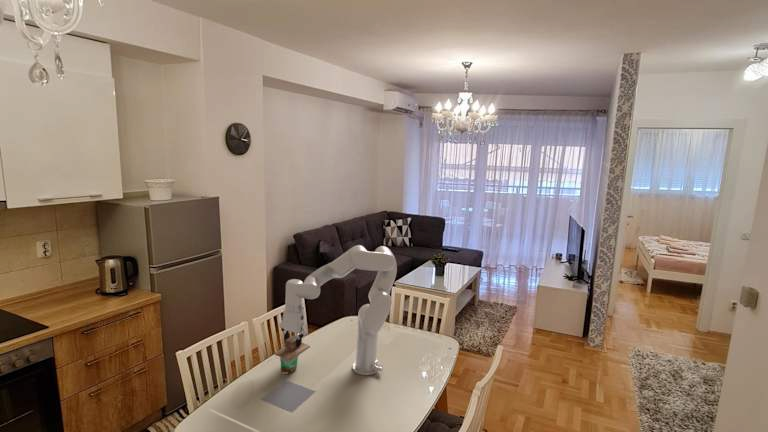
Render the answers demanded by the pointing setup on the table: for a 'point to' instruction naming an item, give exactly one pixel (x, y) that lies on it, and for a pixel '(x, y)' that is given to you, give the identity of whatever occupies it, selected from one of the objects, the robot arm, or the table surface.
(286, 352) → the walnut lid
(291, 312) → the robot arm
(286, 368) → the food container
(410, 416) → the table surface
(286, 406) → the rubber mat
